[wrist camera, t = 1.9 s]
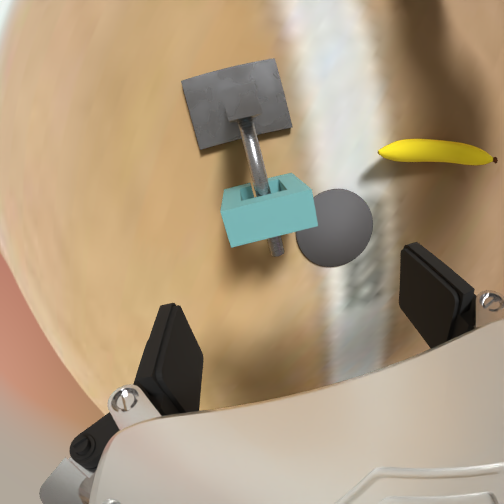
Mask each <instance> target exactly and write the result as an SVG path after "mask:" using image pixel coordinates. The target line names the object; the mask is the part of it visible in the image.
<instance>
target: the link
mask: <svg viewBox="0 0 504 504" xmlns="http://www.w3.org/2000/svg"><path fill="white" fill-rule="evenodd" d="M268 182H269V187H270V191H271V194H267V195H263V196H259V197H255V198H254V195H253V191H252V187H251V184H250V183H247V184H243V185H239V186H235V187H231V188H228V189H224V193H223V200H222V206H221V215H222V219H223V222H224V225H225V229H226V232H227V235H228V239H229V242H230V245H231V248H232V247H236V246H240V245H244V244H248V243H252V242H256V241H260V240H264V239H268V238H272V237H276V236H280V235H284V234H288V233H292V232H296V231H300V230H304V229H308V228H312V227H316V226H318V222H317V216H316V210H315V205H314V199H313V194H312V189H310V188H309V187H308V186H307V185H306V184H305V183H303V182H302V181H301V180H300V179H298V178H297V177H296V176H295V175H294V174H292V173H289V174H284V175H280V176H276V177H271V178H268Z"/></svg>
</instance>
